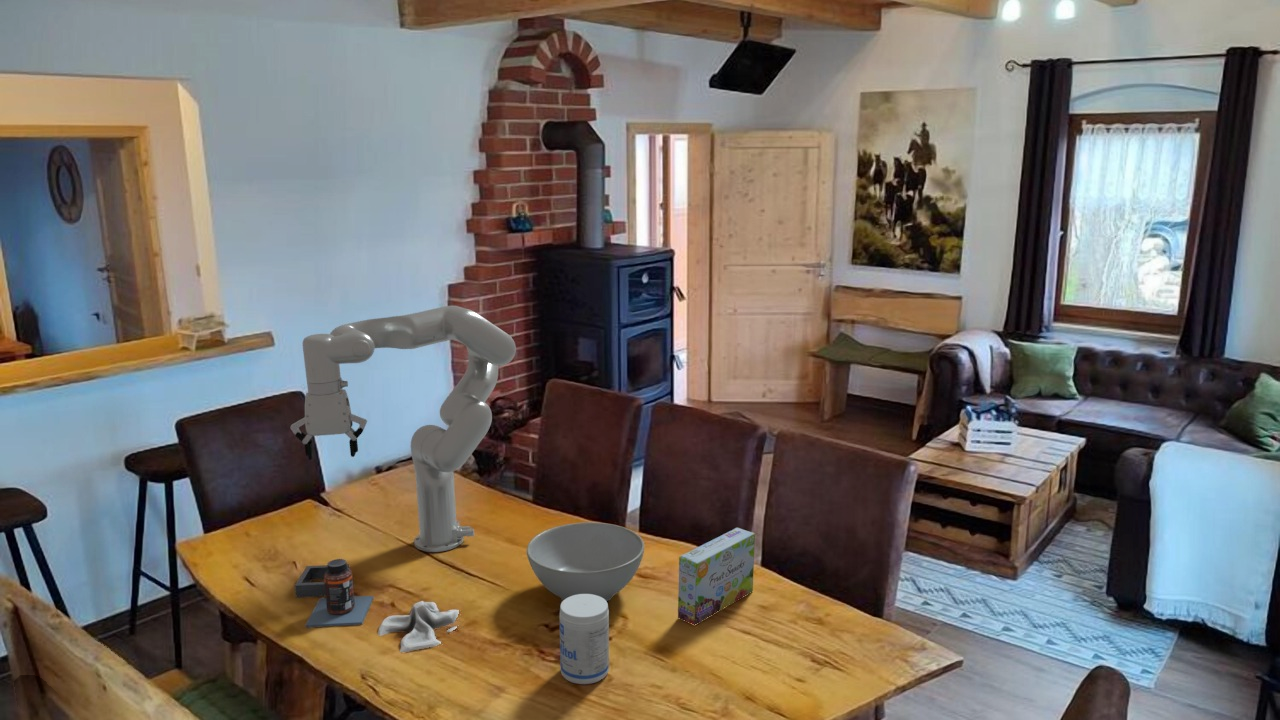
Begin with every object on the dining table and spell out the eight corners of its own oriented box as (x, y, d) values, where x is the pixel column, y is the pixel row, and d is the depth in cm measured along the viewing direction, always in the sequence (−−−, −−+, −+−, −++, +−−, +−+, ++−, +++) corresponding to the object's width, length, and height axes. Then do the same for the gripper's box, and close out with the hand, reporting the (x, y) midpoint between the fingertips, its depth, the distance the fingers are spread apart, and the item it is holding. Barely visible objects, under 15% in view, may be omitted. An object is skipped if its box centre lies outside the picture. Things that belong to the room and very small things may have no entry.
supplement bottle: (357, 611, 202) (353, 564, 199) (329, 618, 199) (324, 570, 196) (352, 600, 207) (348, 554, 204) (325, 606, 204) (320, 560, 201)
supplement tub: (550, 674, 178) (548, 606, 175) (584, 653, 185) (582, 587, 182) (586, 692, 172) (584, 622, 169) (619, 670, 179) (618, 602, 176)
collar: (350, 575, 220) (349, 564, 219) (340, 595, 210) (339, 583, 210) (307, 577, 219) (306, 566, 219) (295, 597, 210) (294, 585, 209)
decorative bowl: (504, 596, 209) (502, 548, 206) (588, 557, 228) (587, 512, 225) (585, 637, 191) (583, 585, 188) (668, 592, 210) (668, 543, 207)
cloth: (417, 663, 184) (414, 635, 182) (358, 635, 194) (356, 609, 193) (494, 617, 201) (493, 591, 200) (437, 594, 212) (435, 570, 210)
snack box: (696, 628, 195) (697, 563, 191) (676, 619, 198) (676, 555, 195) (754, 592, 210) (756, 531, 206) (735, 584, 213) (736, 525, 210)
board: (373, 597, 209) (373, 595, 209) (362, 624, 197) (361, 622, 197) (320, 600, 208) (319, 598, 208) (305, 627, 196) (305, 624, 196)
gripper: (365, 380, 217) (372, 448, 221) (289, 385, 214) (298, 453, 218) (360, 389, 209) (367, 459, 213) (282, 394, 207) (291, 464, 211)
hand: (332, 456), depth 216 cm, fingers open, 9 cm apart
